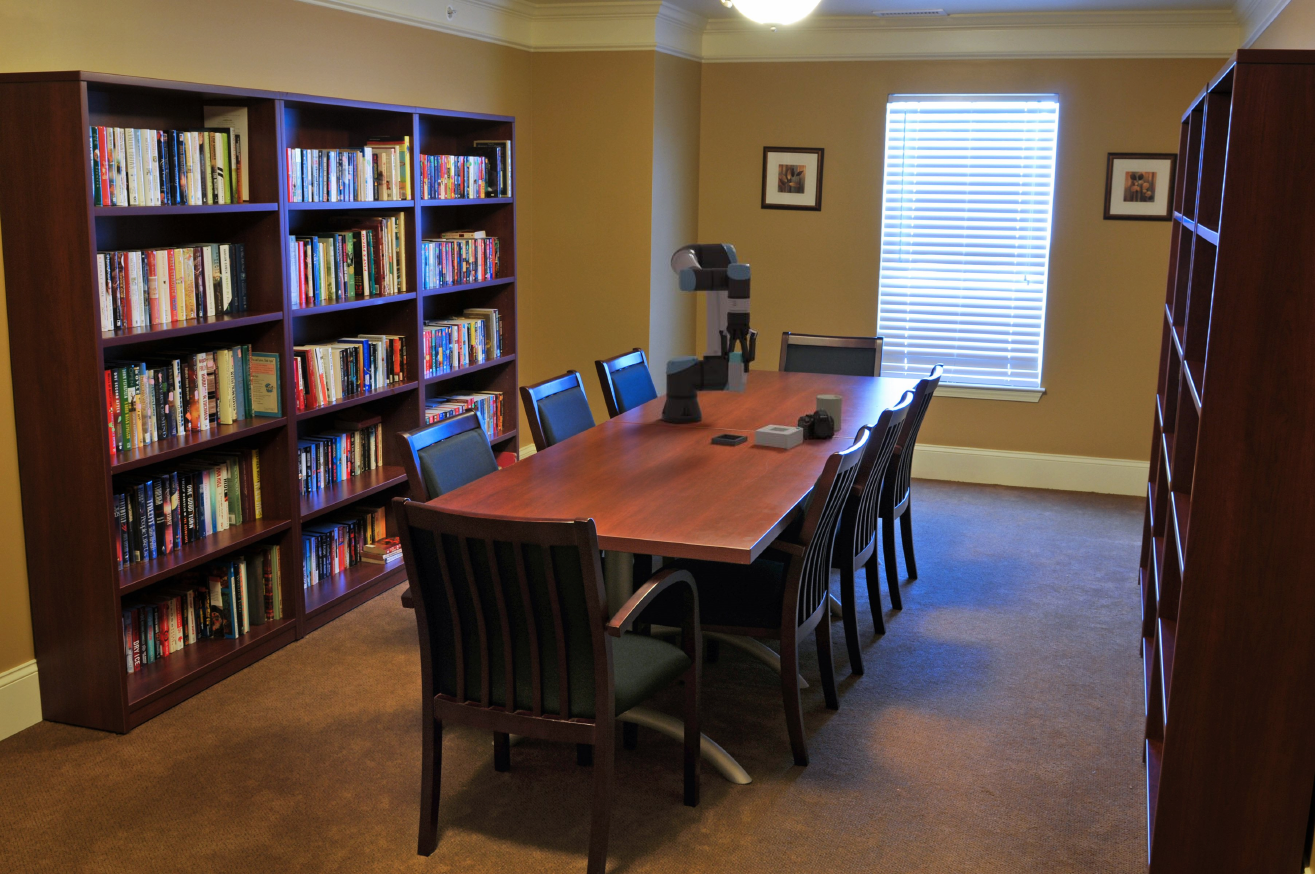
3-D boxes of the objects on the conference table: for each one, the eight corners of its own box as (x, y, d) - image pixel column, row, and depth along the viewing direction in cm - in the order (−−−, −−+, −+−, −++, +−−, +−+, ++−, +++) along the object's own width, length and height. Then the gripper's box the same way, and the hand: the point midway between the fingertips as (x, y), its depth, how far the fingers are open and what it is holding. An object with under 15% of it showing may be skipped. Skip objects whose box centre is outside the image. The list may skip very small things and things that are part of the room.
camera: (809, 442, 372) (810, 413, 370) (793, 436, 381) (793, 408, 379) (841, 438, 378) (843, 410, 376) (825, 433, 387) (826, 405, 385)
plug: (729, 391, 366) (729, 352, 364) (734, 390, 370) (735, 351, 367) (739, 392, 364) (740, 353, 361) (745, 391, 367) (746, 352, 365)
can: (840, 431, 390) (841, 398, 387) (814, 430, 391) (815, 397, 389) (841, 426, 399) (842, 393, 396) (816, 425, 400) (817, 392, 398)
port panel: (754, 445, 367) (755, 429, 366) (770, 438, 377) (770, 423, 376) (787, 449, 361) (788, 433, 360) (802, 442, 371) (803, 427, 370)
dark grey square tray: (711, 443, 370) (711, 438, 369) (723, 439, 377) (723, 433, 377) (735, 447, 365) (735, 441, 365) (747, 442, 373) (747, 436, 372)
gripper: (710, 310, 363) (709, 381, 368) (756, 313, 354) (755, 385, 359) (721, 309, 369) (720, 378, 374) (767, 311, 360) (765, 382, 365)
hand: (737, 381), depth 366 cm, fingers closed on plug, 4 cm apart
